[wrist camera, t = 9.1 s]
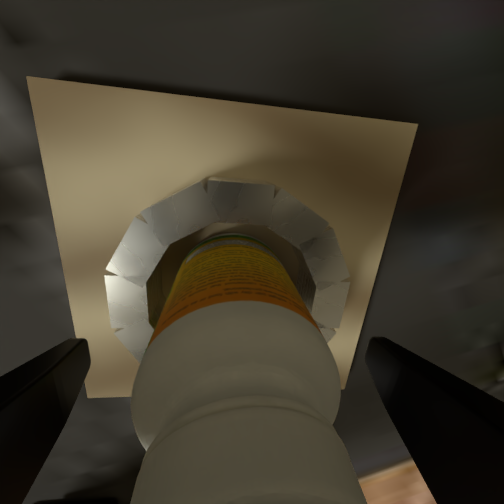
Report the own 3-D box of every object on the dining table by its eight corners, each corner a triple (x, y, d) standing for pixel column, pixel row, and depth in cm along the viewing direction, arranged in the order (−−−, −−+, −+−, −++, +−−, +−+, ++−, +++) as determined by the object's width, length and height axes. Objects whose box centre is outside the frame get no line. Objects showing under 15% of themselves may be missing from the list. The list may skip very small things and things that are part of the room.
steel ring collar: (308, 354, 15) (324, 389, 13) (137, 356, 14) (120, 396, 11) (342, 187, 12) (372, 192, 9) (120, 169, 10) (90, 170, 8)
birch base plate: (337, 376, 17) (344, 389, 16) (95, 383, 15) (87, 397, 14) (403, 127, 12) (418, 123, 11) (44, 84, 10) (26, 76, 9)
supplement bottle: (162, 247, 12) (-52, 539, 3) (270, 217, 12) (428, 402, 3) (198, 334, 14) (147, 677, 5) (291, 309, 14) (422, 595, 5)
